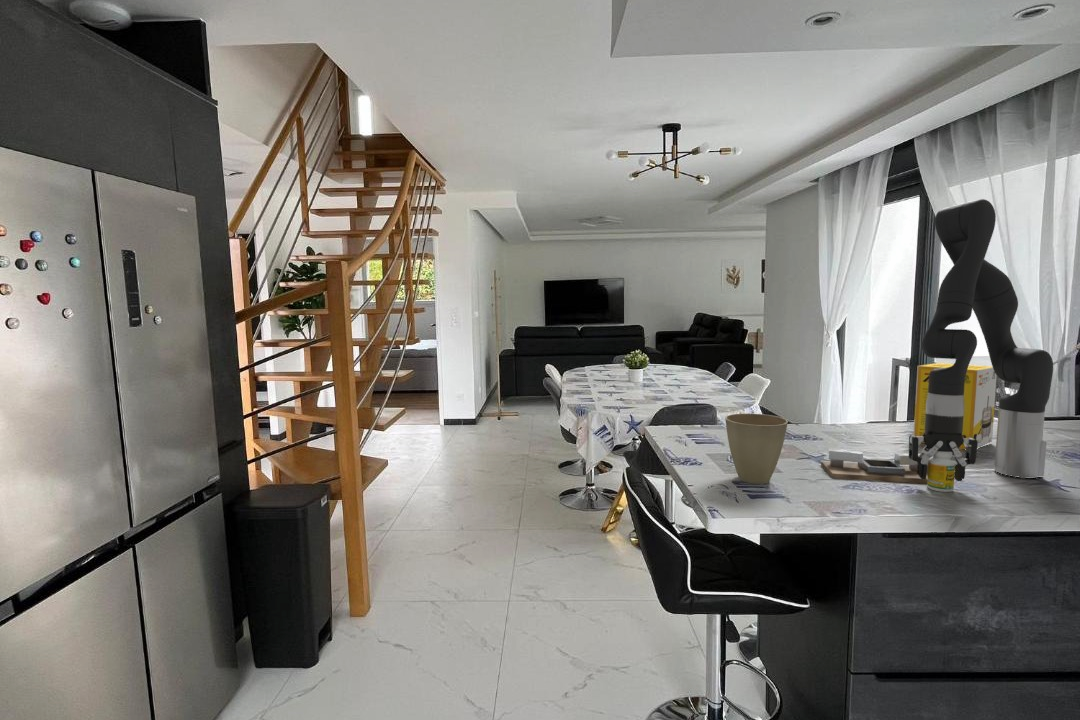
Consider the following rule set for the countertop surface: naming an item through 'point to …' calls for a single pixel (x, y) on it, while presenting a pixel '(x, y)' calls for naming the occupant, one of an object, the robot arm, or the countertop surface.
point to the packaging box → (975, 401)
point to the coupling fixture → (873, 462)
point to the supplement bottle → (941, 472)
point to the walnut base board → (858, 473)
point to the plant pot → (755, 444)
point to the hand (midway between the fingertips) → (940, 479)
